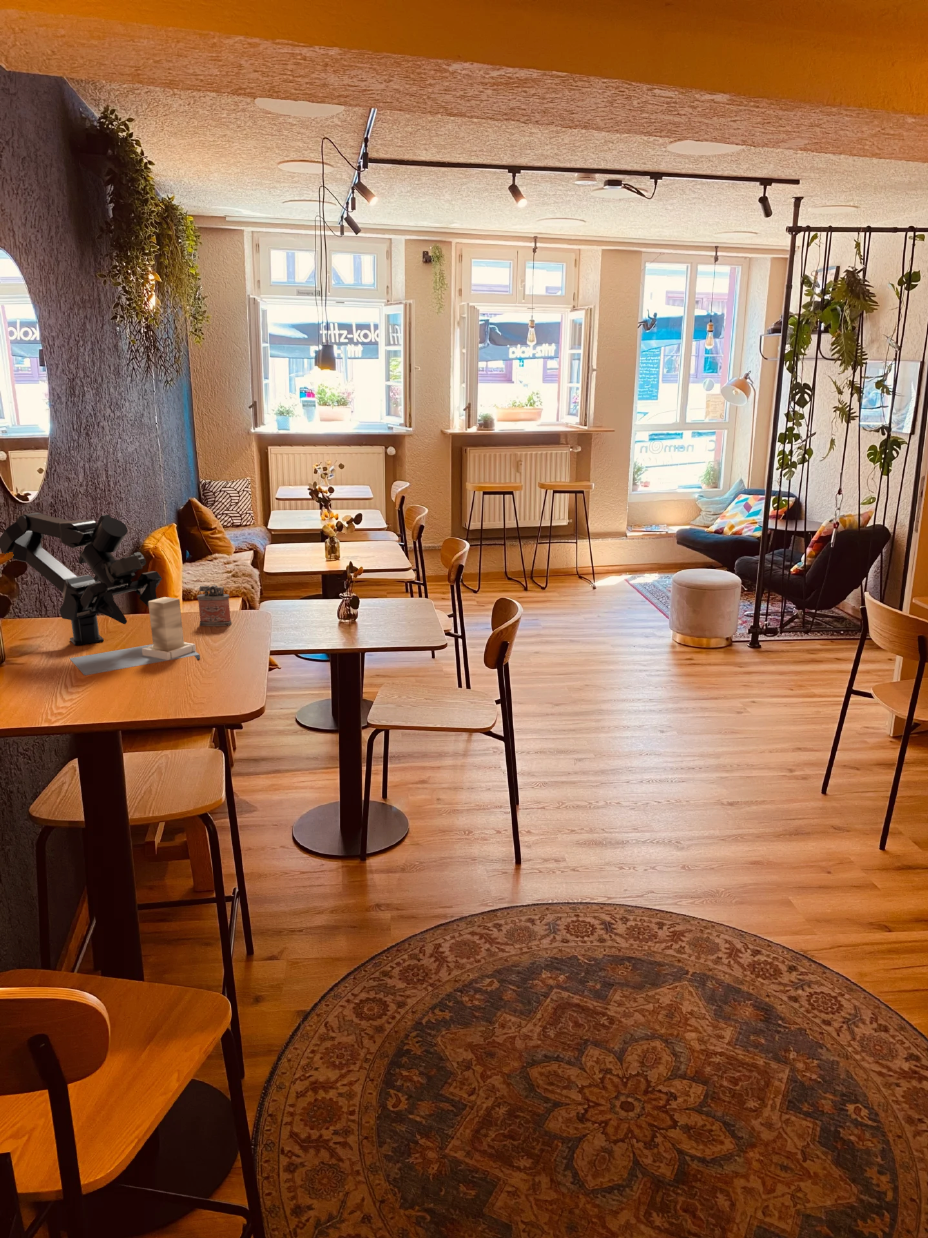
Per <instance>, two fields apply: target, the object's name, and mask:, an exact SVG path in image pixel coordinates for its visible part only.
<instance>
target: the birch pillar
mask: <svg viewBox="0 0 928 1238" xmlns="http://www.w3.org/2000/svg"><path fill="white" fill-rule="evenodd" d="M180 602H181V600H180V598H174V597H169V596H167V597H166V596H163V597H160V598H159V597H158V598H157V599H155V600H151V601H148V604H149V607H148V611H149V613H148V614H149V620H150V629H151V637H152V638H151V639H152V644H153V648H154V649H155V650H160V651H165V652H169V651H172V650H175V649H178V648H181V647H184V642H185V641H184V631H183V621H182V612H181V610H182V609H181V603H180Z"/></svg>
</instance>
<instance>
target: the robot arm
mask: <svg viewBox="0 0 928 1238" xmlns="http://www.w3.org/2000/svg"><path fill="white" fill-rule="evenodd" d="M127 533H128V527H127V525H126V523H124V522H122V521H121V520H119V519H117V518H115V517H114V518H113V517H111V516H110V514H102V515H100V517H99V518H98V522H97V521H95V520H93V519H78V520H76V519H75V520H67V519H64V518H59V517H55V516H50V515H46V514H43V513H41V512H38V511H37V512H32V513H30V512H29V513H24V514H21V515H19V516H18V518H17V519H16V521H15V522H13V523H12V524H10V525H9V526H8V527H7V528H5V530H4V531H3V532H2V534H1V536H0V550H1V552H2V553H3V554H4V555H5V554H6V553H9V552H13V554H14V556H13V558H11V559H12V560H14V561H15V560H16V561H19V562H24V563H26V564H28V565H29V566H31V567H32V568H33V569H34V570H35V571H36V572H38V574H40V575H42V576H41V577H44V578H45V579H46V580H47V581H49V583H50V584H52V585H53V586H54V587H55V588H57V589H58V590H59V591H60V592H61V593H62V599H63V603H62V605H61V606H60V608H59V613H60V616H61V618H62V619H63V620H69V621H70V622H71V629H72V630H71V631H72V637H70V638H69V641H71V643H72V644H73V645H74V646H81V645H82V646H83V645H87V644H93V643H101V642H105V641H104V638H103V637H102V636H101V634H100V631H99V621H98V616H97V615H99V614H102V615H105V616H107V617H109V618H111V619H113V620H114V621H116V622H119V623H120V624H122V625H126V624H127V623H128V620H127V618H126V616H125V615H124V613H123V612H122V609H120V607H119V606H118V604H117V603H116V602H115V600H114V596H116V595H118V596H119V595H121V594H125V593H129V592H134V593H136V595H138V596H139V601H141V602H143V604H144V605H146V607H148V608H149V604H148V601H151V600H155V599H158V597H157V587H158V586H159V585H160V582H161V581H162V579H163V577H162V576H161V575H160V573H159V572H158V571H156V570H155V571H154V570H152V571H147V572H142V573H141V574H140V575H139V577H138V578H137V580H135V581H132V579H134V578H135V576H136V574H135V572H138V571H139V570H143V567H144V566H145V565H146V564H147V561H146V558H145V556H144V555H143V554H142V553H141V552H140V551H137V552H134V553H133V554H131V555H129V556H126V557H122V558H120V559H117V558H116V557H115V555H114V554H113V553H115V552H116V551H117V550H118V549H119V547H120V545H121V544H122V542H123V540H124V539H125V537H126V535H127ZM45 536H49V537H53V538H57V539H59V540H60V541H61V542H60V543H61V544H63V545H65V546H67V547H69V548H71V549H75V548H80V547H84V548H83V550H82V551H79V556H78V564H80V565H82V564H87V566H89V568H90V570H91V572H93V574H94V577H93V576H91V575H90V574H85V575H81V576H78V575H76V574H75V573H74V572H72V571H71V570H70V569H69V568H67V567H66V566H65V565H64V564H62V562H60V561H59V560H58V559H57V558H55V557H54V556H53V555H52V554H51V553H49V552H48V551H47V550H46V549H44V548H43V543H42V542H43V541H42V540H43V539H44V537H45Z"/></svg>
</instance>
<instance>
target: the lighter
mask: <svg viewBox="0 0 928 1238" xmlns="http://www.w3.org/2000/svg"><path fill="white" fill-rule="evenodd" d="M198 590H199V592H204V593H203V594H202V593H201V594H198V595H196V598H197V600H198V611H199V626H202V627H203V626H204V627H225V626H226V625H228V626H231V625H232V620H231V611H230V610H231V609H230V594H227V593H224V591H225V589H224V586H218V585H217V584H213V585H211V586H210V585H200V586H199V588H198Z"/></svg>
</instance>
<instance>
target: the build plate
mask: <svg viewBox="0 0 928 1238" xmlns="http://www.w3.org/2000/svg"><path fill="white" fill-rule="evenodd" d="M152 645H153V643H152V644H151V643H150V644H146V645H140V646H135V647H129V648H124V649H116V650H111V651H105V652H100V653H94V654H93V653H92V654H87V655H80V656H76V657H69V660H70V661H71V662H72V664H73V665H75V667H76V668H77V669H78V670H79V671H80V672H81V673H82V674H83V676H90V675H95V674H100V673H106V672H111V671H117V670H122V669H128V668H134V667H138V666H144V665H151V664H156V663H161V662H166V661H167V662H168V661H173V660H178V659H183V658H189V657H194V658H195V659H196V660H201V654H200V653H199V652H197V650H196V651H192V652H190V653H187V654H184V655H181V656H178V657H175V658H171V659H169V660H165V659H160V658H155V657H150V656H145V655H143V654H142V648H146V647H148V646H152Z"/></svg>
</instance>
